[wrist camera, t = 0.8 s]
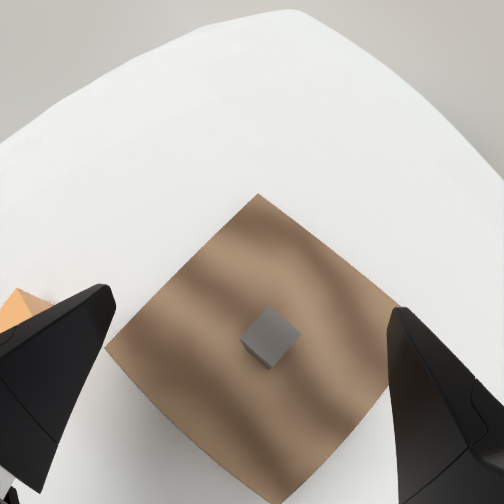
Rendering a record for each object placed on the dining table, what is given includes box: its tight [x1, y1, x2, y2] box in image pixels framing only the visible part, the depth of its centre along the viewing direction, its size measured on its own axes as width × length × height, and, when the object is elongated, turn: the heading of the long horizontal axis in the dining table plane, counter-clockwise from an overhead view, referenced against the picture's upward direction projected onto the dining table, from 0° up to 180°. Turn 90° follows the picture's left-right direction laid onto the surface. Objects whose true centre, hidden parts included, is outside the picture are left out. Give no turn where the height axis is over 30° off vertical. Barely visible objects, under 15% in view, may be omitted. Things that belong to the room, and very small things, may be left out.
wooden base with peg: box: [105, 194, 401, 504], centre depth 22 cm, size 20×20×8 cm
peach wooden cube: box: [0, 288, 53, 333], centre depth 23 cm, size 6×6×6 cm
